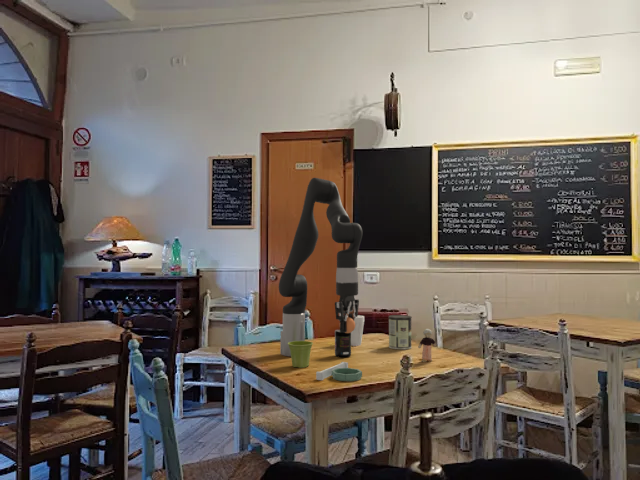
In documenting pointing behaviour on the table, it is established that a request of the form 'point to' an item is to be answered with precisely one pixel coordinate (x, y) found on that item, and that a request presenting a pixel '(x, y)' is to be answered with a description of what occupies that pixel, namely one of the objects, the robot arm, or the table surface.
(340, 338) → the supplement container
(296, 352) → the plant pot
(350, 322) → the ball
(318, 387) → the table surface
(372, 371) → the table surface
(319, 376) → the white long bar
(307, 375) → the table surface
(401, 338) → the coffee can
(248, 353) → the table surface
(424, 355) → the grandmother figurine
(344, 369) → the saucer
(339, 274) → the robot arm
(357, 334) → the foam cup
